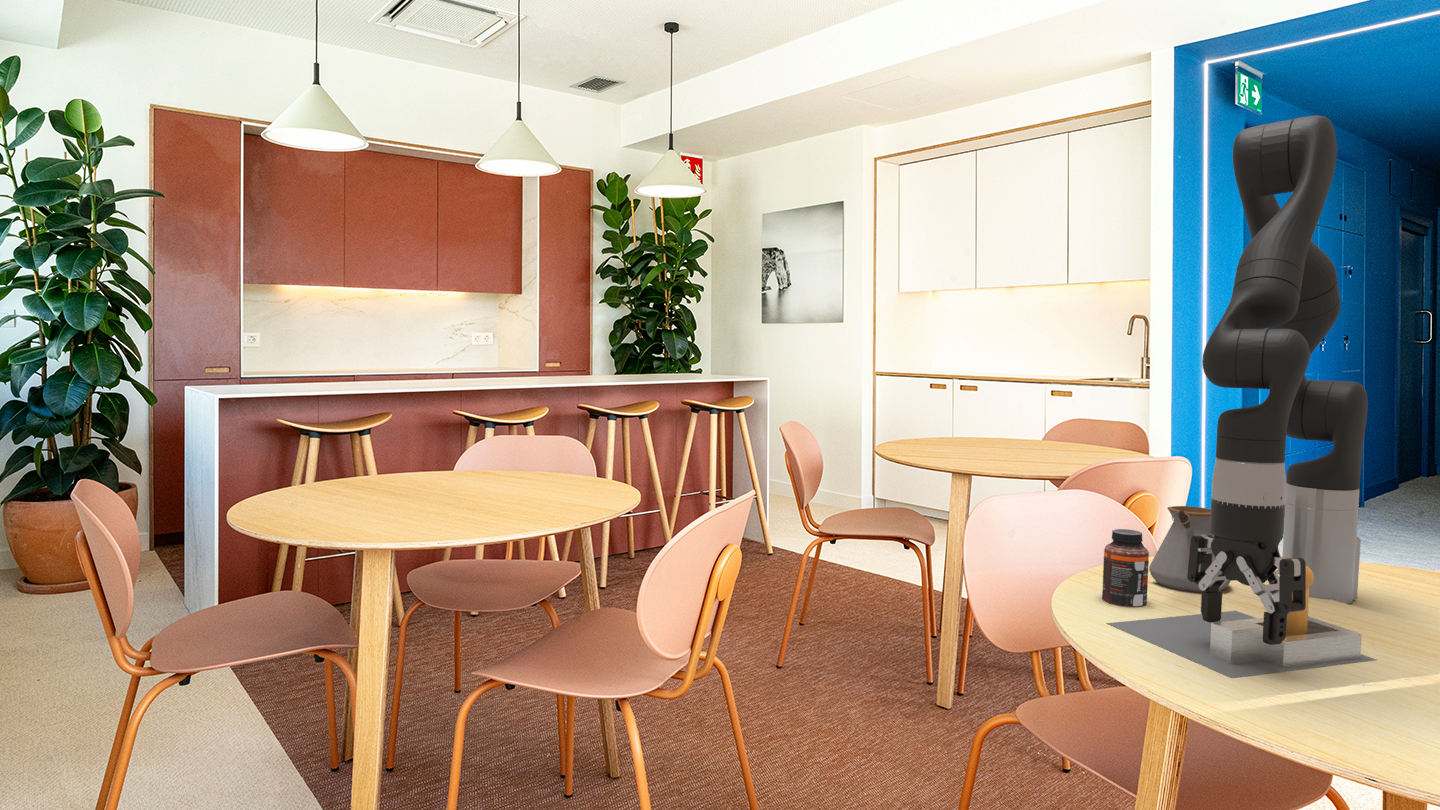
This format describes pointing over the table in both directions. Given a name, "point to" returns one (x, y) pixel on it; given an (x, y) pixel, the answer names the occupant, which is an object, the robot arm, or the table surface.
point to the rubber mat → (1206, 643)
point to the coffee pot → (1180, 548)
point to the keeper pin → (1300, 612)
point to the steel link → (1283, 643)
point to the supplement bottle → (1125, 570)
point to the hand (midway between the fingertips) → (1240, 631)
